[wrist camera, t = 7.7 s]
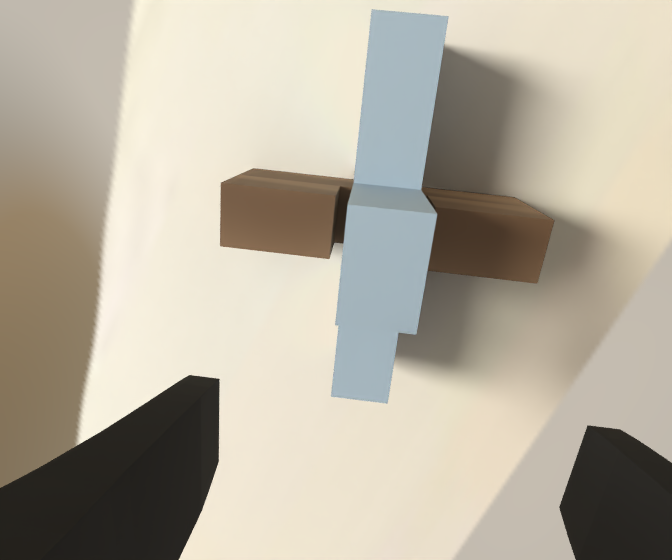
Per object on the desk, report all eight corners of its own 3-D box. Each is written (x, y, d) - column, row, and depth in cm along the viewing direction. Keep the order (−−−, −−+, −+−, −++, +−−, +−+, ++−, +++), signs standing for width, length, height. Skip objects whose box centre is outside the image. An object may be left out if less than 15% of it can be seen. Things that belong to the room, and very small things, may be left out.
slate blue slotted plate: (384, 348, 20) (391, 478, 13) (338, 343, 20) (320, 469, 13) (429, 40, 15) (477, -23, 8) (371, 35, 16) (371, -32, 9)
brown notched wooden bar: (502, 248, 18) (537, 283, 14) (251, 219, 18) (220, 246, 14) (514, 197, 17) (554, 220, 13) (253, 168, 17) (220, 182, 14)
